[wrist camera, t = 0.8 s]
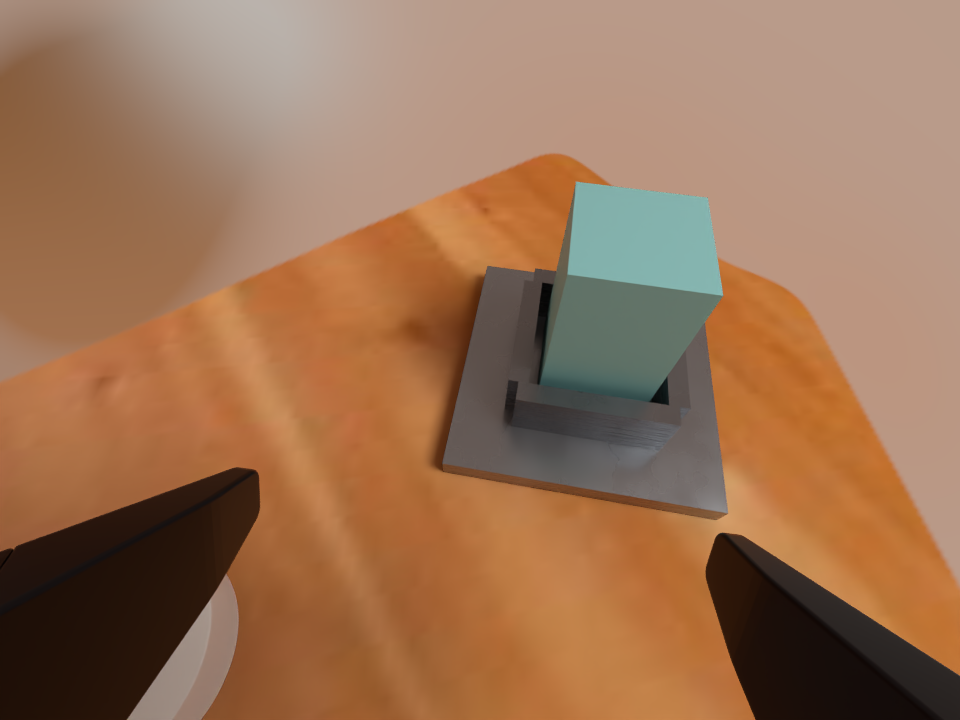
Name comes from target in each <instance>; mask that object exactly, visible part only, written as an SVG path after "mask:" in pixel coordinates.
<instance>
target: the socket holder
mask: <svg viewBox="0 0 960 720" xmlns="http://www.w3.org/2000/svg"><path fill="white" fill-rule="evenodd" d="M555 275H556V271H549V270H542V269H535V272H528V271H520V270H513V269H506V268H499V267H491V266H487V270H486V274H485V279H484V283H483V288H482V292H481V296H480V301H479V305H478V309H477V314H476V318H475V322H474V327H473V331H472V336H471V340H470V344H469V349H468V353H467V357H466V362H465V366H464V371H463V375H462V379H461V384H460V388H459V392H458V397H457V401H456V405H455V410H454V414H453V419H452V423H451V427H450V432H449V436H448V440H447V445H446V449H445V453H444V458H443V462H442V466H443V472H448V473H454V474H459V475H465V476H471V477H476V478H482V479H488V480H494V481H499V482H505V483H511V484H516V485H522V486H528V487H533V488H539V489H545V490H550V491H556V492H562V493H567V494H573V495H579V496H584V497H590V498H596V499H601V500H607V501H613V502H618V503H624V504H630V505H636V506H641V507H647V508H653V509H658V510H664V511H670V512H675V513H681V514H687V515H692V516H698V517H704V518H709V519H715V520H717V519H719V518H721V517H723V516H724V515H726V514H728V508H727V500H726V492H725V484H724V476H723V468H722V459H721V451H720V443H719V435H718V427H717V419H716V411H715V402H714V394H713V386H712V378H711V370H710V362H709V354H708V346H707V337H706V329H705V323H704V324H703V325H702V327H701V328H700V330H699V331H698V333H697V334H696V336H695V337H694V338H693V340H692V341H691V343H690V344H689V346H688V347H687V348H686V350H685V351H684V353H683V354H682V356H681V357H680V359H679V360H678V361H677V363H676V364H675V366H674V367H673V369H672V370H671V371H670V373H669V374H668V376H667V377H666V379H665V380H664V382H663V383H662V384H661V386H660V387H659V389H658V390H657V392H656V393H655V394H654V396H653V397H652V399H651V400H650V402H645V401H639V400H632V399H626V398H620V397H613V396H607V395H601V394H594V393H588V392H582V391H575V390H569V389H562V388H556V387H550V386H543V385H537V383H538V375H539V367H540V359H541V350H542V342H543V334H544V326H545V321H546V316H547V312H548V307H549V303H550V298H551V294H552V289H553V285H554V280H555Z"/></svg>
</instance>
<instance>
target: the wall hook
mask: <svg viewBox="0 0 960 720" xmlns="http://www.w3.org/2000/svg"><path fill="white" fill-rule="evenodd" d="M238 623H239V617H238V605H237V600H236V595H235V592H234V589H233V586H232V584H231V581H230V580H229V578H228V576H227V574H226V575H225V577H224V579H223V580H222V582H221V584H220V585H219V587H218V589H217V590H216V592H215V593H214V595H213V596H212V598H211V599H210V601H209V602H208V604H207V605H206V607H205V608H204V609H203V611H202V612H201V614H200V615H199V617H198V618H197V620H196V621H195V622H194V624H193V625H192V627H191V628H190V630H189V631H188V633H187V634H186V635H185V637H184V638H183V640H182V641H181V643H180V644H179V646H178V647H177V648H176V650H175V651H174V653H173V654H172V656H171V657H170V659H169V660H168V661H167V663H166V664H165V666H164V667H163V669H162V670H161V672H160V673H159V674H158V676H157V677H156V679H155V680H154V682H153V683H152V685H151V686H150V687H149V689H148V690H147V692H146V693H145V695H144V696H143V697H142V699H141V700H140V702H139V703H138V705H137V706H136V708H135V709H134V710H133V712H132V713H131V715H130V716H129V718H128V719H127V720H201V719H202V718H203V716H204V715H205V714H206V712H207V711H208V709H209V708H210V706H211V705H212V703H213V701H214V700H215V698H216V696H217V695H218V693H219V691H220V689H221V687H222V685H223V683H224V680H225V678H226V676H227V673H228V671H229V668H230V665H231V662H232V659H233V656H234V652H235V647H236V642H237V636H238Z"/></svg>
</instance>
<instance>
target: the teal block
mask: <svg viewBox="0 0 960 720" xmlns="http://www.w3.org/2000/svg"><path fill="white" fill-rule="evenodd" d="M722 297H723V292H722V285H721V279H720V273H719V266H718V260H717V254H716V247H715V241H714V235H713V229H712V222H711V216H710V209H709V203H708V198H705V197H696V196H689V195H680V194H672V193H664V192H655V191H647V190H639V189H631V188H622V187H614V186H606V185H598V184H590V183H581V182H576V185H575V189H574V194H573V198H572V203H571V208H570V212H569V217H568V221H567V226H566V230H565V235H564V239H563V244H562V248H561V253H560V257H559V262H558V266H557V271H556V275H555V280H554V285H553V289H552V294H551V298H550V303H549V307H548V312H547V316H546V321H545V326H544V334H543V342H542V350H541V359H540V367H539V375H538V383H537V385H543V386H550V387H556V388H562V389H569V390H575V391H582V392H588V393H594V394H601V395H607V396H613V397H620V398H626V399H632V400H639V401H645V402H650V400H651V399H652V397H653V396H654V394H655V393H656V392H657V390H658V389H659V387H660V386H661V384H662V383H663V382H664V380H665V379H666V377H667V376H668V374H669V373H670V371H671V370H672V369H673V367H674V366H675V364H676V363H677V361H678V360H679V359H680V357H681V356H682V354H683V353H684V351H685V350H686V348H687V347H688V346H689V344H690V343H691V341H692V340H693V338H694V337H695V336H696V334H697V333H698V331H699V330H700V328H701V327H702V325H703V324H704V323H705V321H706V320H707V318H708V317H709V315H710V314H711V313H712V311H713V310H714V308H715V307H716V305H717V304H718V302H719V301H720V300H721V298H722Z"/></svg>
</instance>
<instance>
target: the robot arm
mask: <svg viewBox="0 0 960 720" xmlns="http://www.w3.org/2000/svg"><path fill="white" fill-rule="evenodd" d="M259 510H260V489H259V475H258V472H257V471H256V470H253V469H246V468H239V467H236V468H232V469H229V470H226V471H224V472H221V473H218V474H215V475H212V476H210V477H207V478H204V479H201V480H199V481H196V482H193V483H190V484H187V485H185V486H182V487H179V488H176V489H174V490H171V491H168V492H165V493H162V494H160V495H157V496H154V497H151V498H149V499H146V500H143V501H140V502H137V503H135V504H132V505H129V506H126V507H124V508H121V509H118V510H115V511H112V512H110V513H107V514H104V515H101V516H99V517H96V518H93V519H90V520H87V521H85V522H82V523H79V524H76V525H74V526H71V527H68V528H65V529H62V530H60V531H57V532H54V533H51V534H49V535H46V536H43V537H40V538H37V539H35V540H32V541H29V542H26V543H24V544H21V545H18V546H16V547H15V549H14V550H13V549H11V548H10V549H6V550H4V551H1V552H0V720H127V719H128V718H129V716H130V715H131V713H132V712H133V710H134V709H135V708H136V706H137V705H138V703H139V702H140V700H141V699H142V697H143V696H144V695H145V693H146V692H147V690H148V689H149V687H150V686H151V685H152V683H153V682H154V680H155V679H156V677H157V676H158V674H159V673H160V672H161V670H162V669H163V667H164V666H165V664H166V663H167V661H168V660H169V659H170V657H171V656H172V654H173V653H174V651H175V650H176V648H177V647H178V646H179V644H180V643H181V641H182V640H183V638H184V637H185V635H186V634H187V633H188V631H189V630H190V628H191V627H192V625H193V624H194V622H195V621H196V620H197V618H198V617H199V615H200V614H201V612H202V611H203V609H204V608H205V607H206V605H207V604H208V602H209V601H210V599H211V598H212V596H213V595H214V593H215V592H216V590H217V589H218V587H219V585H220V584H221V582H222V580H223V579H224V577H225V575H226V573H227V571H228V570H229V568H230V566H231V564H232V562H233V561H234V559H235V557H236V555H237V553H238V552H239V550H240V548H241V546H242V544H243V543H244V541H245V539H246V537H247V535H248V534H249V532H250V530H251V528H252V526H253V525H254V523H255V521H256V519H257V517H258V514H259ZM706 580H707V584H708V587H709V591H710V594H711V597H712V600H713V604H714V607H715V610H716V613H717V617H718V620H719V623H720V626H721V630H722V633H723V636H724V639H725V643H726V646H727V649H728V652H729V655H730V658H731V661H732V663H733V666H734V668H735V671H736V674H737V676H738V679H739V681H740V683H741V686H742V688H743V691H744V693H745V695H746V698H747V700H748V703H749V705H750V707H751V710H752V712H753V715H754V717H755V719H756V720H960V676H959V675H958V674H956V673H955V672H953V671H952V670H950V669H948V668H947V667H945V666H944V665H942V664H941V663H939V662H938V661H936V660H934V659H933V658H931V657H930V656H928V655H927V654H925V653H924V652H922V651H921V650H919V649H917V648H916V647H914V646H913V645H911V644H910V643H908V642H907V641H905V640H904V639H902V638H900V637H899V636H897V635H896V634H894V633H893V632H891V631H890V630H888V629H886V628H885V627H883V626H882V625H880V624H879V623H877V622H876V621H874V620H873V619H871V618H869V617H868V616H866V615H865V614H863V613H862V612H860V611H859V610H857V609H856V608H854V607H852V606H851V605H849V604H848V603H846V602H845V601H843V600H842V599H840V598H838V597H837V596H835V595H834V594H832V593H831V592H829V591H828V590H826V589H825V588H823V587H821V586H820V585H818V584H817V583H815V582H814V581H812V580H811V579H809V578H807V577H806V576H804V575H803V574H801V573H800V572H798V571H797V570H795V569H794V568H792V567H790V566H789V565H787V564H786V563H784V562H783V561H781V560H780V559H778V558H777V557H775V556H773V555H772V554H770V553H769V552H767V551H766V550H764V549H763V548H761V547H759V546H758V545H756V544H755V543H753V542H752V541H750V540H749V539H747V538H746V537H744V536H741V535H737V534H729V533H720V534H718V535H717V536H716V538H715V540H714V544H713V547H712V550H711V553H710V556H709V559H708V562H707V566H706Z"/></svg>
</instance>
